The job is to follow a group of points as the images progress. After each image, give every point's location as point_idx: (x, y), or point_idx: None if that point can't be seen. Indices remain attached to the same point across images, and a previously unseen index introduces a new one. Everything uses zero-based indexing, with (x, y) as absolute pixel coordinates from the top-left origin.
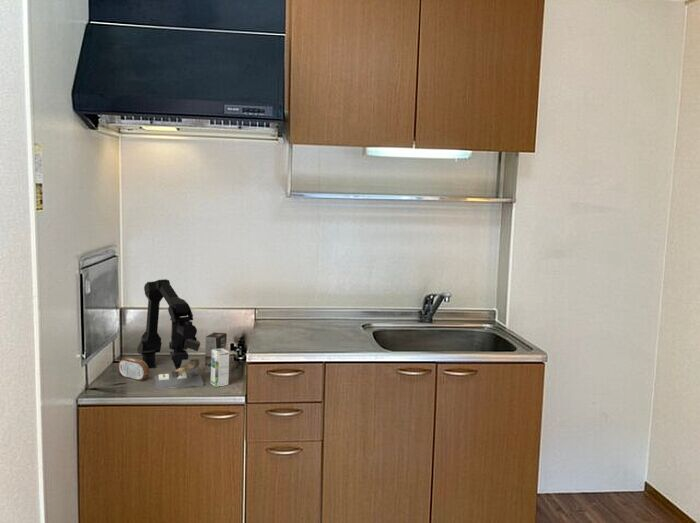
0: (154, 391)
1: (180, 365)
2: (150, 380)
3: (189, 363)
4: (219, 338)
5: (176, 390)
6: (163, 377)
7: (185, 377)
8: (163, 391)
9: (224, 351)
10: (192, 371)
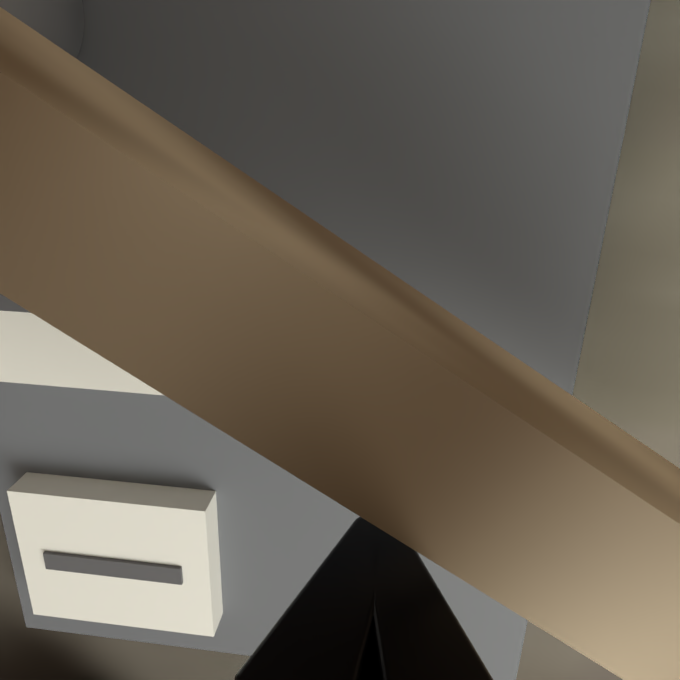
0: (577, 672)
1: (461, 631)
2: (119, 642)
3: (33, 211)
4: None
5: (675, 425)
6: (195, 583)
7: None
8: None
9: None
10: None
